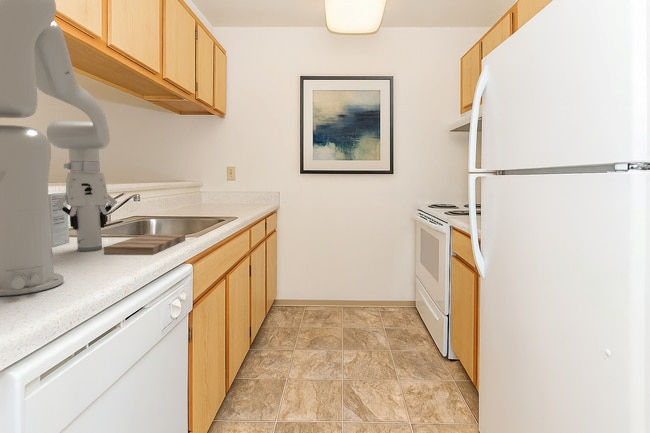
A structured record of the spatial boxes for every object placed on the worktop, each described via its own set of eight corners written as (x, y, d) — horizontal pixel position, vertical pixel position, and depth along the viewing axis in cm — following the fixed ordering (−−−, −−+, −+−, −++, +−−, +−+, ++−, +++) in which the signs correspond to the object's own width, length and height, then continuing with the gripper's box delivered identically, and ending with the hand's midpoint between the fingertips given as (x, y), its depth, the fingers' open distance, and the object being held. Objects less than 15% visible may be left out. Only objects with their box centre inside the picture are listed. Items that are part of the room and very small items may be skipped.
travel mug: (76, 252, 108) (71, 183, 106) (79, 248, 114) (74, 183, 112) (101, 250, 111) (97, 183, 109) (102, 246, 117) (99, 182, 115)
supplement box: (20, 247, 115) (16, 193, 113) (39, 242, 124) (35, 191, 122) (54, 247, 116) (50, 193, 114) (70, 242, 125) (67, 191, 123)
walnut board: (153, 254, 106) (152, 247, 106) (104, 254, 106) (103, 247, 106) (185, 240, 130) (185, 234, 130) (145, 239, 130) (145, 234, 130)
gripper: (50, 167, 102) (55, 232, 103) (120, 168, 113) (123, 227, 115) (47, 167, 107) (52, 229, 109) (114, 168, 118) (117, 224, 120)
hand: (88, 227), depth 112 cm, fingers closed on travel mug, 6 cm apart
